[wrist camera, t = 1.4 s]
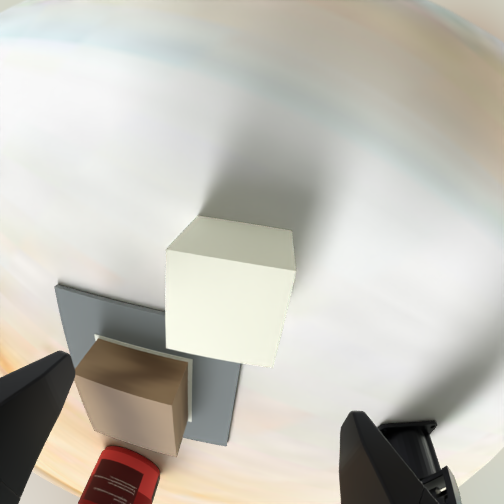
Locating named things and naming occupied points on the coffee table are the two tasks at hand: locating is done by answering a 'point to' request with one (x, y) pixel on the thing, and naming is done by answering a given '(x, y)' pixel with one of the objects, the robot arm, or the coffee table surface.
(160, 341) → the building mat
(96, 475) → the canned food
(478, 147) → the coffee table surface
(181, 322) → the cream cube
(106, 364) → the walnut base
